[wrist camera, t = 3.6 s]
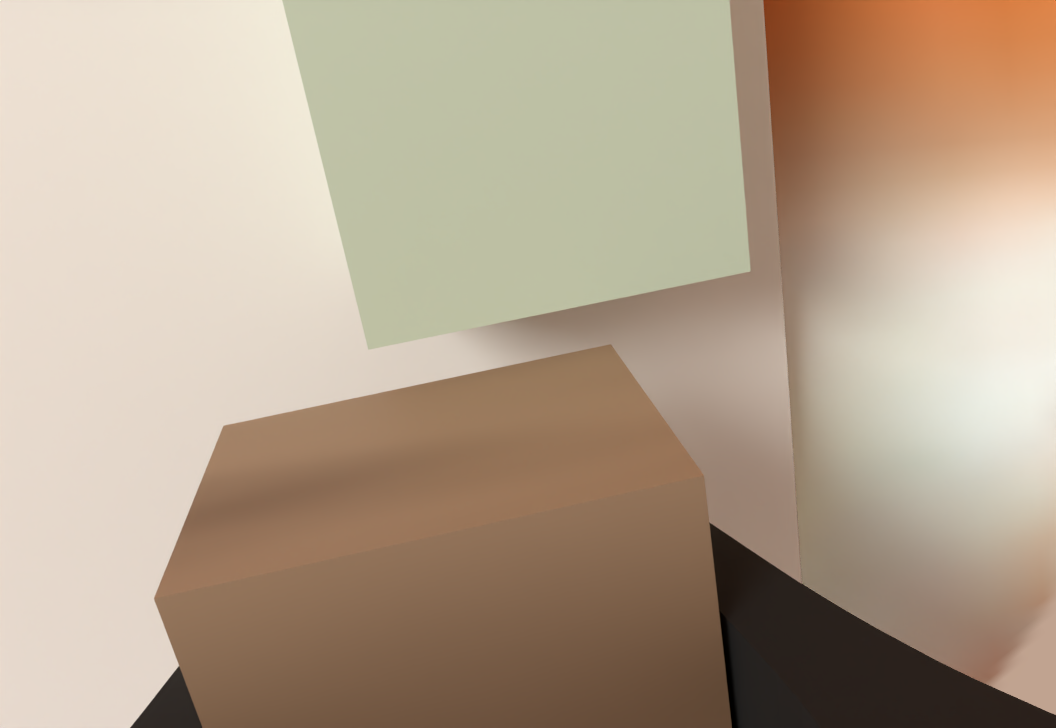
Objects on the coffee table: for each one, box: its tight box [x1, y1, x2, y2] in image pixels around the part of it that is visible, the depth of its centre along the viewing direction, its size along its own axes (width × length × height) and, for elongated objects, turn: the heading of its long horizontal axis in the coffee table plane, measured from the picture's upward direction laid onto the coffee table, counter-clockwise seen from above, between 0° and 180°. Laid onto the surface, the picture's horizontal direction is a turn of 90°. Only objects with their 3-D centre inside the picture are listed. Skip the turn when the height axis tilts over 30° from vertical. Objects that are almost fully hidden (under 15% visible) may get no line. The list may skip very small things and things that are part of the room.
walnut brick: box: [154, 344, 732, 728], centre depth 9 cm, size 6×4×3 cm
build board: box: [0, 0, 802, 728], centre depth 11 cm, size 18×13×1 cm
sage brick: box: [282, 0, 751, 350], centre depth 10 cm, size 6×4×3 cm
